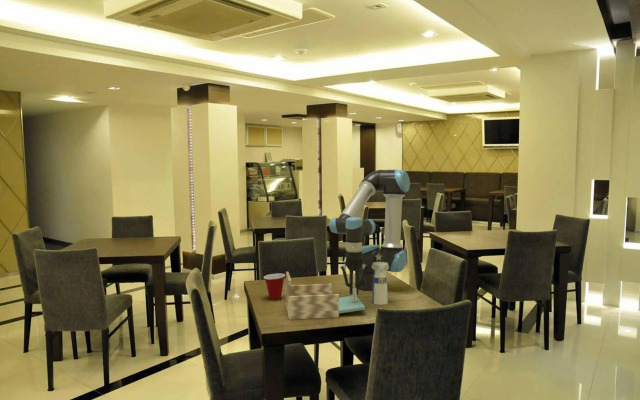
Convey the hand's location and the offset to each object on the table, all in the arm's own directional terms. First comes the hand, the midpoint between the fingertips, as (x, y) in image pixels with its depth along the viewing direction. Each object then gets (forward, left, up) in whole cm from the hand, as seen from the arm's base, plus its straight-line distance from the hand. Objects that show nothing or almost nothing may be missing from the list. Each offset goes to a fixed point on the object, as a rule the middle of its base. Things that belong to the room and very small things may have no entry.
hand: (354, 301), depth 218 cm
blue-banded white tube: (-15, -9, -4) cm, 18 cm away
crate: (+20, 0, -4) cm, 20 cm away
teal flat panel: (+9, 0, -2) cm, 9 cm away
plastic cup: (+36, -24, -4) cm, 44 cm away
